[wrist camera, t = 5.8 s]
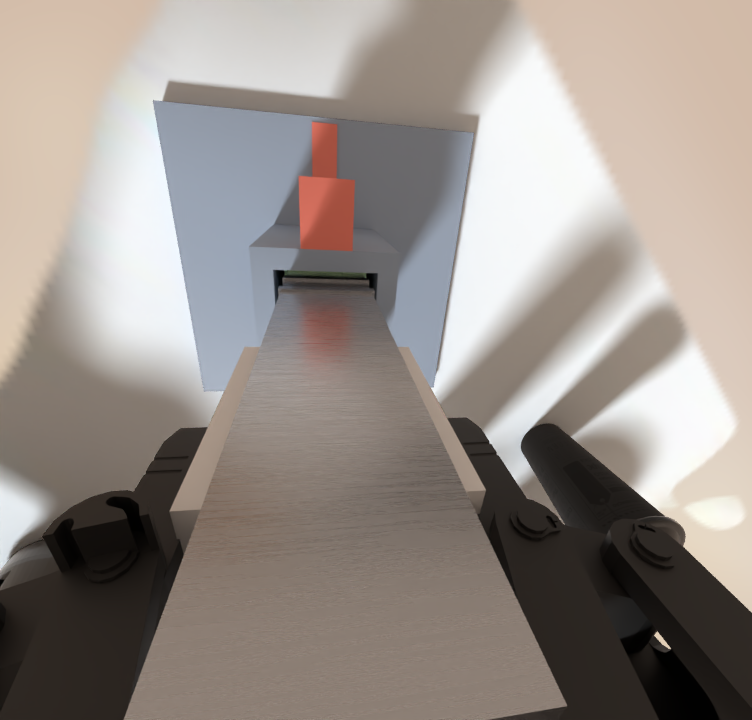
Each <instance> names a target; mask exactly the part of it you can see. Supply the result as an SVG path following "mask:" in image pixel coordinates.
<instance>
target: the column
mask: <svg viewBox="0 0 752 720" xmlns="http://www.w3.org/2000/svg"><path fill="white" fill-rule="evenodd" d="M374 296H375V291H374V289H373V288H370V287H369V279H368V278H366V273H354V272H325V271H296V270H285V275H283V286H279V288H278V300H277V302H276V305H275V308H274V311H273V313H272V316H271V319H270V321H269V324H268V327H267V330H266V332H265V335H264V338H263V341H262V343H261V346H260V349H259V351H258V354H257V357H256V360H255V362H254V365H253V368H252V371H251V373H250V376H249V379H248V381H247V384H246V387H245V390H244V392H243V395H242V398H241V401H240V403H239V406H238V409H237V412H236V414H235V417H234V420H233V422H232V425H231V428H230V431H229V433H228V436H227V439H226V442H225V444H224V447H223V450H222V452H221V455H220V458H219V461H218V463H217V466H216V469H215V472H214V474H213V477H212V480H211V482H210V485H209V488H208V491H207V493H206V496H205V499H204V502H203V504H202V507H201V510H200V512H199V515H198V518H197V521H196V523H195V526H194V529H193V532H192V534H191V537H190V540H189V543H188V545H187V548H186V551H185V553H184V556H183V559H182V562H181V564H180V567H179V570H178V573H177V575H176V578H175V581H174V583H173V586H172V589H171V592H170V594H169V597H168V600H167V603H166V605H165V608H164V611H163V613H162V616H161V619H160V622H159V624H158V627H157V630H156V633H155V635H154V638H153V641H152V643H151V646H150V649H149V652H148V654H147V657H146V660H145V663H144V665H143V668H142V671H141V674H140V676H139V679H138V682H137V684H136V687H135V690H134V693H133V695H132V698H131V701H130V704H129V706H128V709H127V712H126V714H125V717H124V720H559V718H560V717H561V715H562V714H563V712H564V710H565V709H566V707H567V704H566V702H565V700H564V698H563V696H562V694H561V691H560V689H559V687H558V685H557V683H556V681H555V679H554V677H553V674H552V672H551V670H550V668H549V666H548V664H547V662H546V660H545V658H544V655H543V653H542V651H541V649H540V647H539V645H538V643H537V641H536V639H535V636H534V634H533V632H532V630H531V628H530V626H529V624H528V622H527V619H526V617H525V615H524V613H523V611H522V609H521V607H520V605H519V603H518V600H517V598H516V596H515V594H514V592H513V590H512V588H511V586H510V584H509V581H508V579H507V577H506V575H505V573H504V571H503V569H502V567H501V564H500V562H499V560H498V558H497V556H496V554H495V552H494V550H493V548H492V545H491V543H490V541H489V539H488V537H487V535H486V533H485V531H484V528H483V526H482V524H481V522H480V520H479V518H478V516H477V514H476V512H475V509H474V507H473V505H472V503H471V501H470V499H469V497H468V495H467V493H466V490H465V488H464V486H463V484H462V482H461V480H460V478H459V476H458V473H457V471H456V469H455V467H454V465H453V463H452V461H451V459H450V457H449V454H448V452H447V450H446V448H445V446H444V444H443V442H442V440H441V438H440V435H439V433H438V431H437V429H436V427H435V425H434V423H433V421H432V418H431V416H430V414H429V412H428V410H427V408H426V406H425V404H424V402H423V399H422V397H421V395H420V393H419V391H418V389H417V387H416V385H415V382H414V380H413V378H412V376H411V374H410V372H409V370H408V368H407V366H406V363H405V361H404V359H403V357H402V355H401V353H400V351H399V349H398V347H397V344H396V342H395V340H394V338H393V336H392V334H391V332H390V330H389V327H388V325H387V323H386V321H385V319H384V317H383V315H382V313H381V311H380V308H379V306H378V304H377V302H376V300H375V298H374Z"/></svg>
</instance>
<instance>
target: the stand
mask: <svg viewBox="0 0 752 720" xmlns="http://www.w3.org/2000/svg"><path fill="white" fill-rule="evenodd" d="M153 104H154V110H155V115H156V121H157V127H158V132H159V138H160V144H161V149H162V155H163V161H164V166H165V172H166V178H167V183H168V189H169V195H170V201H171V206H172V212H173V218H174V223H175V229H176V235H177V240H178V246H179V252H180V257H181V263H182V269H183V274H184V280H185V286H186V292H187V297H188V303H189V309H190V314H191V320H192V326H193V331H194V337H195V343H196V348H197V354H198V360H199V365H200V371H201V377H202V383H203V388H204V391H225V389H226V387H227V384H228V382H229V380H230V378H231V376H232V373H233V371H234V369H235V367H236V365H237V363H238V360H239V358H240V356H241V354H242V352H243V349H244V347H260V346H261V343H262V341H263V338H264V335H265V332H266V330H267V327H268V324H269V321H270V319H271V316H272V313H273V311H274V308H275V305H276V302H277V300H278V288H279V286H283V275H285V270H296V271H325V272H354V273H366V278H368V279H369V287H370V288H373V289H374V291H375V296H374V298H375V300H376V302H377V304H378V306H379V308H380V311H381V313H382V315H383V317H384V319H385V321H386V323H387V325H388V327H389V330H390V332H391V334H392V336H393V338H394V340H395V342H396V344H397V347H409V349H410V351H411V353H412V354H413V356H414V358H415V360H416V362H417V364H418V365H419V367H420V369H421V371H422V373H423V375H424V377H425V378H426V380H427V382H428V384H429V386H430V387H434V381H435V375H436V369H437V362H438V356H439V350H440V343H441V337H442V331H443V325H444V318H445V312H446V306H447V299H448V293H449V287H450V281H451V274H452V268H453V262H454V255H455V249H456V243H457V237H458V230H459V224H460V218H461V211H462V205H463V199H464V193H465V186H466V180H467V174H468V167H469V161H470V155H471V149H472V142H473V136H474V133H471V132H461V131H451V130H441V129H431V128H421V127H412V126H402V125H392V124H382V123H372V122H362V121H352V120H342V119H332V118H323V117H313V116H303V115H293V114H283V113H273V112H263V111H253V110H243V109H234V108H224V107H214V106H204V105H194V104H184V103H174V102H164V101H154V100H153Z"/></svg>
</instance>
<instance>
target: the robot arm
mask: <svg viewBox="0 0 752 720" xmlns="http://www.w3.org/2000/svg"><path fill="white" fill-rule="evenodd" d="M259 349H260V347H244V349H243V352H242V354H241V356H240V358H239V360H238V363H237V365H236V367H235V369H234V371H233V373H232V376H231V378H230V380H229V382H228V384H227V387H226V389H225V391H224V393H223V395H222V398H221V400H220V402H219V404H218V406H217V408H216V411H215V413H214V415H213V417H212V419H211V422H210V424H209V426H208V427H205V428H180V429H179V430H178V431H177V432H176V433H174V434H173V435H172V436H171V437H169V438H168V439H167V440H166V441H164V443H163V444H162V446H161V448H160V449H159V451H158V453H157V454H156V456H155V457H154V461H152V462H151V464H150V466H149V467H148V469H147V471H146V475H144V476H143V477H142V479H141V481H140V482H139V484H138V486H137V487H136V489H135V491H134V492H132V491H128V490H126V491H110V492H107V493H104V494H100V495H97V496H94V497H91V498H89V499H87V500H85V501H83V502H81V503H79V504H77V505H75V506H73V507H71V508H70V509H69V510H67V511H66V512H65V513H63V514H62V515H61V516H60V517H58V518H57V519H56V520H54V521H53V523H52V524H51V525H50V527H49V528H48V529H47V531H46V532H45V533H44V534H43V536H42V537H43V539H44V540H41V541H38V542H35V543H32V544H30V545H28V546H26V547H24V548H22V549H21V550H19V551H18V552H16V553H15V554H14V555H13V556H12V557H11V558H10V559H9V561H8V562H7V563H6V564H5V565H4V567H3V568H2V569H1V570H0V720H124V717H125V714H126V712H127V709H128V706H129V704H130V701H131V698H132V695H133V693H134V690H135V687H136V684H137V682H138V679H139V676H140V674H141V671H142V668H143V665H144V663H145V660H146V657H147V654H148V652H149V649H150V646H151V643H152V641H153V638H154V635H155V633H156V630H157V627H158V624H159V622H160V619H161V616H162V613H163V611H164V608H165V605H166V603H167V600H168V597H169V594H170V592H171V589H172V586H173V583H174V581H175V578H176V575H177V573H178V570H179V567H180V564H181V562H182V559H183V556H184V553H185V551H186V548H187V545H188V543H189V540H190V537H191V534H192V532H193V529H194V526H195V523H196V521H197V518H198V515H199V512H200V510H201V507H202V504H203V502H204V499H205V496H206V493H207V491H208V488H209V485H210V482H211V480H212V477H213V474H214V472H215V469H216V466H217V463H218V461H219V458H220V455H221V452H222V450H223V447H224V444H225V442H226V439H227V436H228V433H229V431H230V428H231V425H232V422H233V420H234V417H235V414H236V412H237V409H238V406H239V403H240V401H241V398H242V395H243V392H244V390H245V387H246V384H247V381H248V379H249V376H250V373H251V371H252V368H253V365H254V362H255V360H256V357H257V354H258V351H259ZM398 349H399V351H400V353H401V355H402V357H403V359H404V361H405V363H406V366H407V368H408V370H409V372H410V374H411V376H412V378H413V380H414V382H415V385H416V387H417V389H418V391H419V393H420V395H421V397H422V399H423V402H424V404H425V406H426V408H427V410H428V412H429V414H430V416H431V418H432V421H433V423H434V425H435V427H436V429H437V431H438V433H439V435H440V438H441V440H442V442H443V444H444V446H445V448H446V450H447V452H448V454H449V457H450V459H451V461H452V463H453V465H454V467H455V469H456V471H457V473H458V476H459V478H460V480H461V482H462V484H463V486H464V488H465V490H466V493H467V495H468V497H469V499H470V501H471V503H472V505H473V507H474V509H475V512H476V514H477V516H478V518H479V520H480V522H481V524H482V526H483V528H484V531H485V533H486V535H487V537H488V539H489V541H490V543H491V545H492V548H493V550H494V552H495V554H496V556H497V558H498V560H499V562H500V564H501V567H502V569H503V571H504V573H505V575H506V577H507V579H508V581H509V584H510V586H511V588H512V590H513V592H514V594H515V596H516V598H517V600H518V603H519V605H520V607H521V609H522V611H523V613H524V615H525V617H526V619H527V622H528V624H529V626H530V628H531V630H532V632H533V634H534V636H535V639H536V641H537V643H538V645H539V647H540V649H541V651H542V653H543V655H544V658H545V660H546V662H547V664H548V666H549V668H550V670H551V672H552V674H553V677H554V679H555V681H556V683H557V685H558V687H559V689H560V691H561V694H562V696H563V698H564V700H565V702H566V704H567V707H566V709H565V710H564V712H563V714H562V715H561V717H560V718H559V720H752V613H751V612H750V611H749V610H748V609H747V608H746V607H745V606H744V605H743V604H742V603H741V602H740V601H739V600H738V599H737V598H736V597H735V596H734V595H733V594H732V593H731V592H730V591H728V590H727V589H726V588H725V587H724V586H723V585H722V584H721V583H720V582H719V581H718V580H717V579H716V578H715V577H714V576H713V575H712V574H711V573H710V572H708V570H707V569H706V568H705V567H704V566H702V564H700V563H699V562H698V561H697V560H696V559H695V558H694V557H693V556H692V555H691V554H690V553H689V552H688V551H687V550H686V549H685V548H684V547H683V546H682V545H681V544H679V543H678V542H677V541H676V540H674V539H673V538H672V537H671V536H669V535H668V534H667V533H665V532H664V531H662V530H660V529H658V528H656V527H654V526H653V525H651V524H648V523H645V522H642V521H639V520H636V519H620V520H618V521H615V522H613V524H612V526H611V528H610V530H609V532H608V534H603V533H598V532H594V531H589V530H584V529H579V528H574V527H570V526H567V525H564V524H562V523H561V521H560V520H559V518H558V517H557V516H556V515H555V514H554V513H552V512H551V511H550V510H549V509H548V508H547V507H545V506H543V505H541V504H539V503H537V502H535V501H533V500H529V499H527V498H526V497H525V495H524V494H523V492H522V491H521V489H520V488H519V486H518V485H517V483H516V481H515V480H514V478H513V477H512V475H511V474H510V472H509V471H508V469H507V468H506V466H505V465H504V463H503V462H502V460H501V459H500V457H499V456H498V455H497V454H496V451H495V449H494V448H493V446H492V445H491V444H489V440H488V439H487V437H486V436H485V434H484V433H483V431H482V430H481V428H479V427H478V426H477V425H476V424H474V423H473V422H472V421H470V420H469V419H468V418H447V417H446V415H445V413H444V412H443V410H442V408H441V406H440V404H439V402H438V401H437V399H436V397H435V395H434V393H433V391H432V389H431V388H430V386H429V384H428V382H427V380H426V378H425V377H424V375H423V373H422V371H421V369H420V367H419V365H418V364H417V362H416V360H415V358H414V356H413V354H412V353H411V351H410V349H409V347H398ZM657 631H658V632H659V634H660V635H661V636H662V637H663V639H664V640H665V641H666V642H667V644H668V645H669V646H670V647H671V649H668V648H667V647H665V646H664V645H662V644H661V643H660V642H659V641H658V640H657V638H656V637H655V636H654V635H655V633H656V632H657Z"/></svg>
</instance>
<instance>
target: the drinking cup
mask: <svg viewBox="0 0 752 720" xmlns="http://www.w3.org/2000/svg"><path fill="white" fill-rule="evenodd" d="M521 450H522V452H523V454H524V456H525V457H526V459H527V461H528V462H529V464H530V466H531V468H532V469H533V471H534V473H535V474H536V476H537V478H538V479H539V481H540V483H541V484H542V486H543V488H544V489H545V491H546V493H547V495H548V496H549V498H550V500H551V501H552V503H553V505H554V506H555V508H556V510H557V511H558V513H559V515H560V516H561V518H562V520H563V522H564V523H565V525H567V526H570V527H574V528H579V529H584V530H589V531H594V532H598V533H603V534H608V532H609V530H610V528H611V526H612V524H613V522H615V521H618V520H620V519H636V520H639V521H642V522H645V523H648V524H651V525H653V526H654V527H656V528H658V529H660V530H662V531H664V532H665V533H667V534H668V535H669V536H671V537H672V538H673V539H674V540H676V541H677V542H678V543H679V544H681V545H682V546H683V545H684V542H685V532H684V529H683V528H682V527H681V525H680V524H678V523H677V522H676V521H675V520H673V519H671V518H669V517H665V516H664V515H663V514H662V513H660V512H659V511H658V510H657V509H656V508H654V507H653V506H652V505H651V504H650V503H648V502H647V501H646V500H645V499H644V498H642V497H641V496H640V495H639V494H638V493H637V492H635V491H634V490H633V489H632V488H631V487H629V486H628V485H627V484H626V483H625V482H623V481H622V480H621V479H620V478H619V477H617V476H616V475H615V474H614V473H613V472H611V471H610V470H609V469H608V468H607V467H605V466H604V465H603V464H602V463H601V462H599V461H598V460H597V459H596V458H595V457H594V456H592V455H591V454H590V453H589V452H588V451H586V450H585V449H584V448H583V447H582V446H580V445H579V444H578V443H577V442H576V441H574V440H573V439H572V438H571V437H570V436H568V435H567V434H566V433H565V432H564V431H562V430H561V429H560V428H559V427H558V426H556V425H553V424H543V425H539V426H537V427H535V428H533V429H532V430H530V431H529V432H528V433H527V434H526V435H525V436H524V438H523V440H522V443H521Z"/></svg>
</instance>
